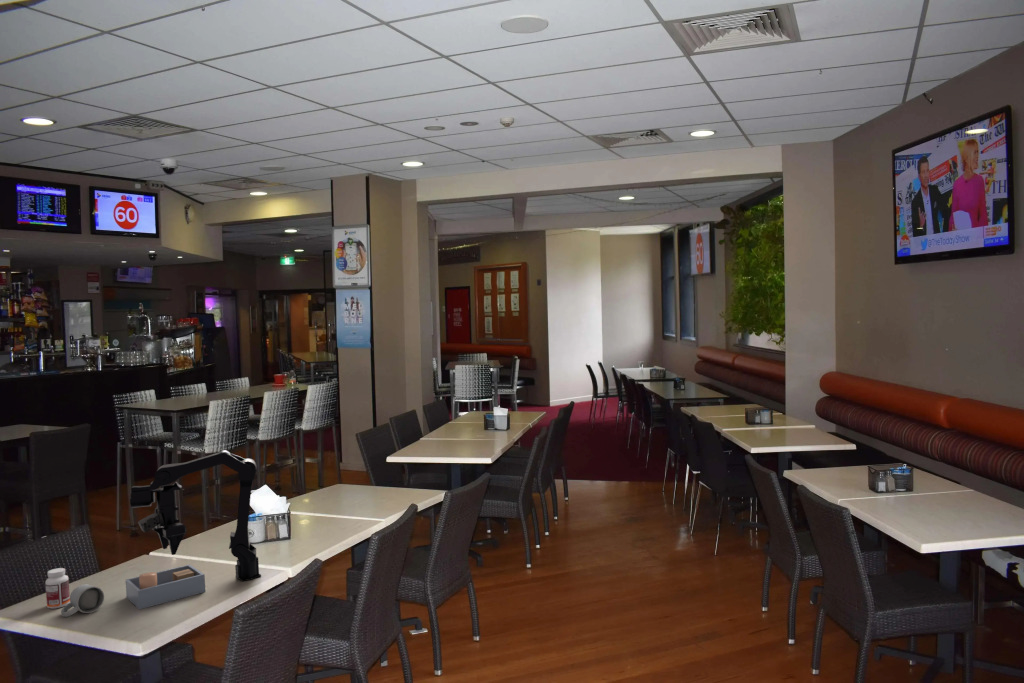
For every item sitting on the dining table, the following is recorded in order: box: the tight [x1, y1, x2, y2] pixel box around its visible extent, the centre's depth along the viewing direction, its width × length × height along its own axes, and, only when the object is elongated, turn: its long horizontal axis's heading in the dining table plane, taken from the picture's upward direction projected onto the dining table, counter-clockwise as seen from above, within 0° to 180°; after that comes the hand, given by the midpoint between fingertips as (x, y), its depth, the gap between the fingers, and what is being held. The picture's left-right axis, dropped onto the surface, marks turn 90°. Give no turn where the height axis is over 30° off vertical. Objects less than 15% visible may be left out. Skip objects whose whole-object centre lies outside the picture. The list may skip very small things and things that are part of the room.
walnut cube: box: [173, 569, 194, 581], centre depth 237 cm, size 5×5×5 cm
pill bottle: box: [44, 567, 71, 610], centre depth 228 cm, size 6×6×11 cm
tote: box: [125, 564, 206, 610], centre depth 234 cm, size 20×15×6 cm
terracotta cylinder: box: [138, 571, 157, 590], centre depth 230 cm, size 5×5×7 cm
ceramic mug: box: [60, 583, 105, 618], centre depth 222 cm, size 11×8×8 cm
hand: (169, 551), depth 239 cm, fingers open, 9 cm apart
